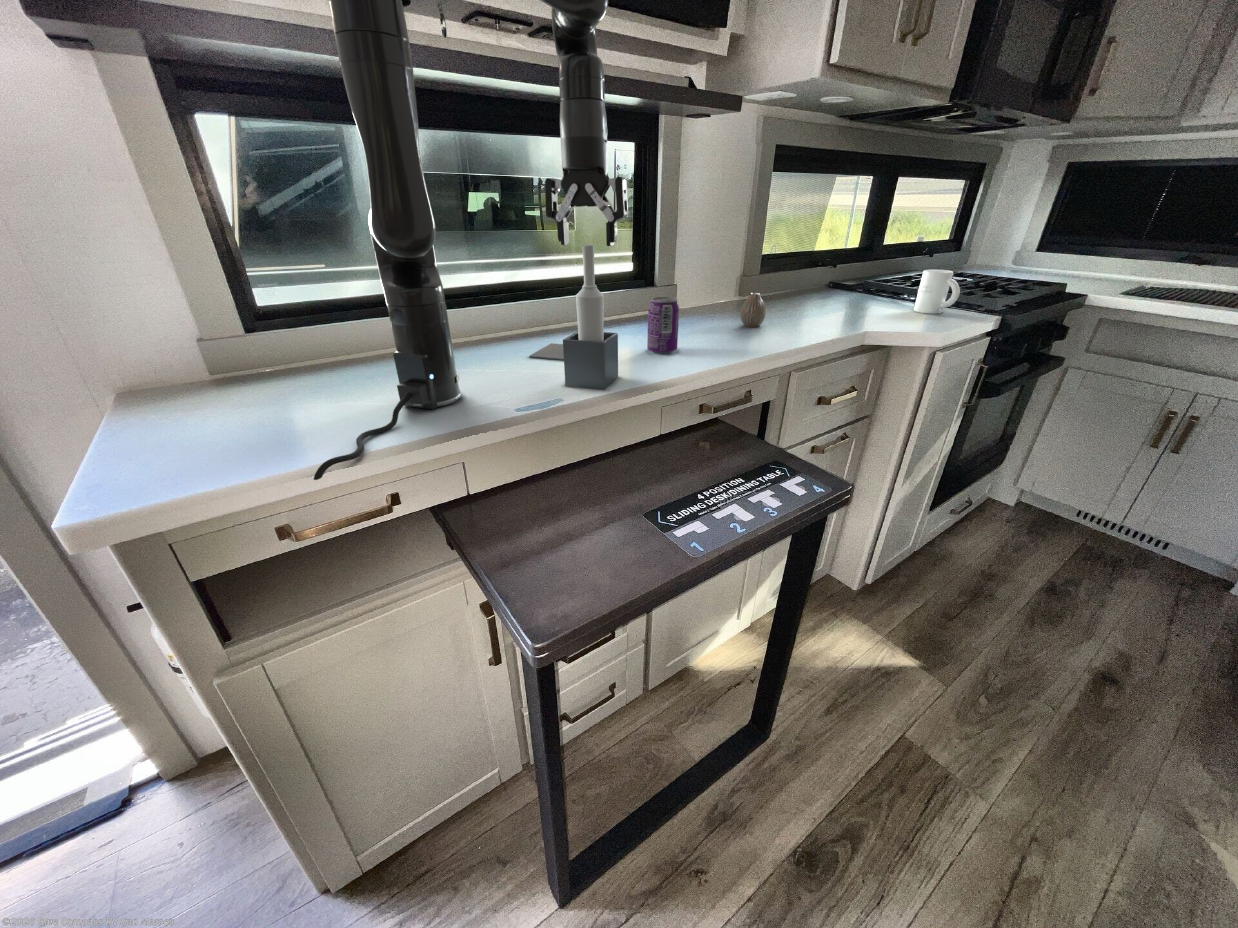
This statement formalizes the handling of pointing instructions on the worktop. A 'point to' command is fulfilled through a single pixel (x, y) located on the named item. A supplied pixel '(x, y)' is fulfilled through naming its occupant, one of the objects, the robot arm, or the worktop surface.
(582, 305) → the bottle
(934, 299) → the mug
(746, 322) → the vase
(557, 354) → the coaster
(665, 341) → the beverage can
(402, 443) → the worktop surface
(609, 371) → the caddy
